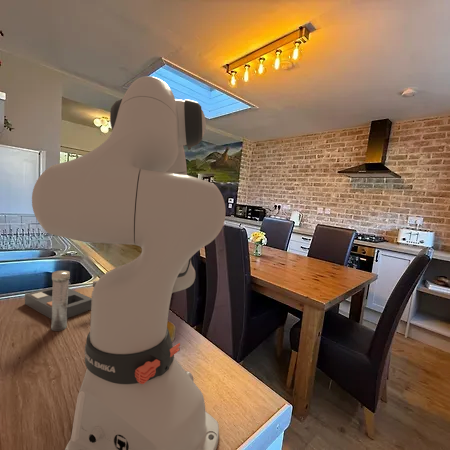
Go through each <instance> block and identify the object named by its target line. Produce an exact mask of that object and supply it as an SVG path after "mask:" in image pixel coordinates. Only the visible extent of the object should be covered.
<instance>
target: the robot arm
mask: <svg viewBox="0 0 450 450" xmlns="http://www.w3.org/2000/svg"><path fill="white" fill-rule="evenodd" d="M109 111H110V113H109V114H110V115H109V123H110V127H111V133H110V135H109V137H108V138H107V139H106V140H104V142H102V143H101V144H100V145H99V146H97V147H96V148H94V149H93V150H91V151H90V152H87V153H86V154H84V155H81V156H79V157H76V158H75V159H71V160H69V161H64V162H60V163H57V164H56V163H55V164H52V165H51V166H49V167H48V168H46V169H45V170H44V171H43V172H42V173H41V174H40V176H39V177H38V178H37V180H36V181H35V183H34V186H33V189H32V193H31V206H32V210H33V213H34V217H35V218H36V220H37V222H38V223H39V224H40V226H41V228H42V229H44V231H45V232H46V233H47V234H49V235H52V236H57V237H62V238H65V239H69V240H74V241H79V242H83V243H95V244H96V243H97V244H111V245H112V244H115V245H117V244H118V245H134V246H138V247H140V248H141V253H139V255H138V257H136V258H135V259H132V260H131V261H130V262H127V263H125V264H123V265H122V264H121V265H119V266H116V267H115V268H113V269H111V270H109V271H107V272H105V274H103V275H102V276H101V277H100V278H98V280H94V281H92V288H93V289H92V292H91V298H92V302H91V310H90V324H89V326H90V328H89V332H88V334H87V337H86V340H85V341H86V342H85V345H84V355H85V356H84V364H85V367H86V371H85V373H84V377H83V379H82V382H81V386H80V388H79V391H78V394H77V398H76V404H75V411H74V417H73V424H72V430H71V436H70V440H69V441H68V443H67V444H66V447H65V449H64V450H217V449H218V448H217V447H218V445H219V437H220V431H219V430H220V429H219V428H220V425H219V422H218V421H217V420H216V419H215V418H214V417H213V416H212V415H211V414H209V412H207V411H206V402H205V398H204V395H203V394H204V393H203V392H202V390H201V389H200V388H199V387H198V385H196V383H195V382H194V376H193V374H192V372H190V371H188V370H185V369H184V367H183V365H181V364H180V363H179V361H178V360H177V358H176V357H175V354H177V353H178V352H179V351H180V348H179V347H180V345H181V343H180V342H179V343H177V344H175V345H173V341H172V342H171V338H170V334H169V330H168V328H167V322H168V321H169V320H168V318H169V312H170V305H171V301H172V300H171V298H172V294H173V293H176V292H180V291H183V290H186V289H188V288H190V287H191V286H192V285H193V284H194V282H195V281H196V280H195V279H196V270H195V268H194V266H193V264H192V257H193V256H194V255H196V253H198V252H199V251H200V250H202V249H203V248H204V247H206V246H208V245H209V244H210V243H212V242H213V241H214V240H215V239H216V238H217V237H218V236H219V234H220V232H221V231H222V229H223V227H224V224H225V220H226V213H227V212H226V203H225V199H224V196H223V195H222V192H221V191H220V189H219V188H218V186H217V185H216V184H215V183H213V182H211V181H210V182H209V181H207V180H204V179H202V178H200V177H199V178H198V177H195V176H192V175H188V169H187V161H186V158H187V157H186V153H185V147H187V149H188V151H190V150H191V148H192V147H195V146H197V145H199V144H200V143H201V141H203V137H204V135H205V133H206V127H207V123H206V122H207V121H206V116H205V113H204V111H203V109H202V106H201V105H200V103H199V101H195V100H193V99H192V100H191V99H187V98H185V99H184V100H183V99H177V98H175V94H174V93H173V91H172V89H171V88H170V86H169V85H168V84H167V83H166V82H165V81H163V80H162V79H160V78H158V77H155V76H150V75H149V76H148V75H145V76H141V77H138V78H136V79H135V80H134V81H133V82H132V83H131V84H130V85H129V87H128V88H127V90H126V91H125V93H124V95H123V97H122V98H120V99H118V100H116V101H115V102H114V103H113V104H112V106H111V108H110V110H109Z"/></svg>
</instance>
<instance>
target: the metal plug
mask: <svg viewBox="0 0 450 450" xmlns="http://www.w3.org/2000/svg"><path fill="white" fill-rule="evenodd" d="M70 275H71V271H69V270H56V271H53V272H51V280H52V287H53V292H52V319H51V323H50V324H51V325H50V327H51V329H50V330H51V331H53V332H59V331H63V330H65V329H66V328H67V327H68V318H67V306H68V288H69V282H70V281H69V280H70V278H71V276H70Z"/></svg>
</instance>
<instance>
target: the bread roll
mask: <svg viewBox="0 0 450 450" xmlns="http://www.w3.org/2000/svg"><path fill="white" fill-rule="evenodd" d="M167 328H168V330H169V334H170V338H171V342H172V343H173V342H174V340H175V337H176V330H177V327H176V326H175V325H174V323H172V322H171V321H169V320H168V322H167Z"/></svg>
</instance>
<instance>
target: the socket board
mask: <svg viewBox="0 0 450 450" xmlns="http://www.w3.org/2000/svg"><path fill="white" fill-rule="evenodd" d="M52 292H53V286H52V287H48V288H44V289H41V290H35V291H32V292H28V293H24V305H26V306H28V307H29V308H31V309H33V310H35V311H36V312H38V313H40V314H42V315H43V316H45V317H46V318H48V319H50V320H52ZM91 302H92V297H89V296H87V295H85V294H82V293H81V292H78V291H75V290H74V289H71V288H70V287H68V306H67V319H69V318H71V317H74V316H77V315H80V314H83V313H85V312H89V311H91ZM88 310H89V311H88Z"/></svg>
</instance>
